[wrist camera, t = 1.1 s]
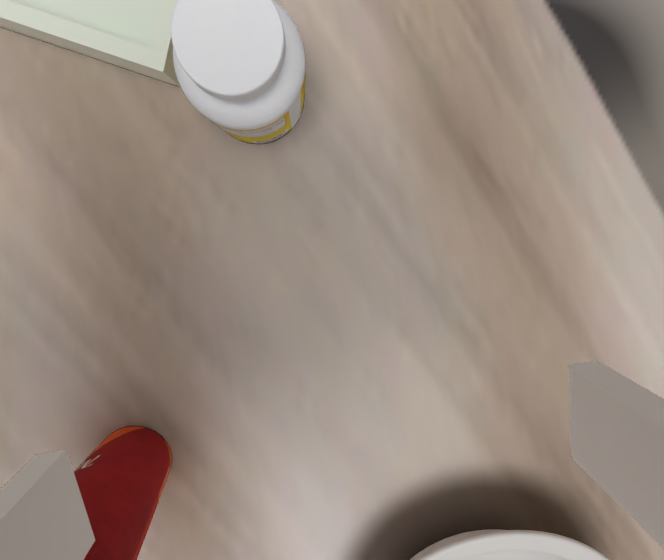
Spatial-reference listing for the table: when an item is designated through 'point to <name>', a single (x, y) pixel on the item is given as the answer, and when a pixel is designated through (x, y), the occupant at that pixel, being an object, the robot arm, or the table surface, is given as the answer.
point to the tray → (101, 30)
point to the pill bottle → (240, 65)
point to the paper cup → (123, 490)
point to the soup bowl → (508, 547)
